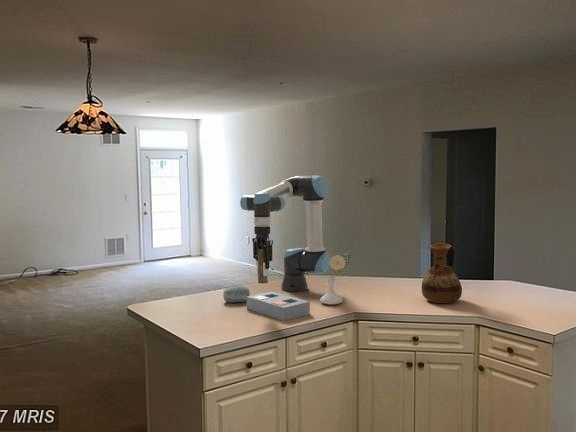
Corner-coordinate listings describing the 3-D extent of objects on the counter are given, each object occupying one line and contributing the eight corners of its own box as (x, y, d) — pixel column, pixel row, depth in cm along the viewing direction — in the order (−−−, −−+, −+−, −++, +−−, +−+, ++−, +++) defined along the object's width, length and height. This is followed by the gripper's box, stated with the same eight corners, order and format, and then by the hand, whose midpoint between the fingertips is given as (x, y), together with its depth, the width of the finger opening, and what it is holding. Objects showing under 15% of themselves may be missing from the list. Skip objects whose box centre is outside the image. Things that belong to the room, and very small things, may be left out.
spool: (250, 292, 272) (246, 278, 266) (252, 304, 264) (248, 290, 258) (225, 299, 270) (220, 285, 265) (227, 311, 263) (222, 297, 257)
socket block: (246, 308, 251) (246, 296, 251) (271, 302, 262) (271, 290, 261) (283, 320, 230) (283, 307, 230) (309, 314, 241) (309, 300, 240)
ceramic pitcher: (414, 301, 263) (415, 243, 261) (432, 294, 278) (433, 239, 275) (450, 308, 250) (451, 247, 247) (467, 300, 265) (469, 242, 262)
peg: (256, 282, 243) (255, 248, 241) (263, 281, 245) (263, 247, 244) (262, 283, 239) (261, 250, 238) (269, 282, 242) (269, 249, 241)
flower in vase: (317, 305, 257) (317, 256, 255) (323, 299, 267) (323, 252, 265) (342, 307, 252) (342, 257, 250) (348, 301, 263) (348, 253, 261)
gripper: (245, 224, 244) (245, 273, 246) (267, 227, 231) (267, 278, 233) (257, 223, 249) (258, 271, 251) (280, 226, 236) (280, 276, 238)
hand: (262, 274), depth 242 cm, fingers closed on peg, 4 cm apart
